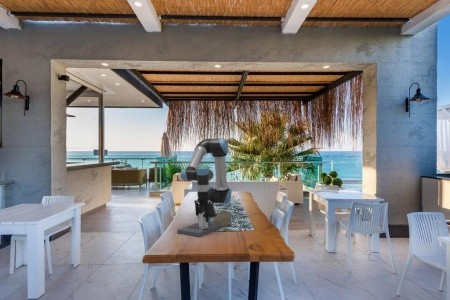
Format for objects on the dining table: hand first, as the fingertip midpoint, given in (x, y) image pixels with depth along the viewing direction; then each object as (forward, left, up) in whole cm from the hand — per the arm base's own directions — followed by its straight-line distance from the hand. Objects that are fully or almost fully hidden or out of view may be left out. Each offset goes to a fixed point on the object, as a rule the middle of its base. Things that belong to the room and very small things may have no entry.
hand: (203, 226), depth 217 cm
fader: (0, 0, -1) cm, 1 cm away
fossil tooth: (0, +22, -4) cm, 22 cm away
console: (-5, +2, -4) cm, 7 cm away
